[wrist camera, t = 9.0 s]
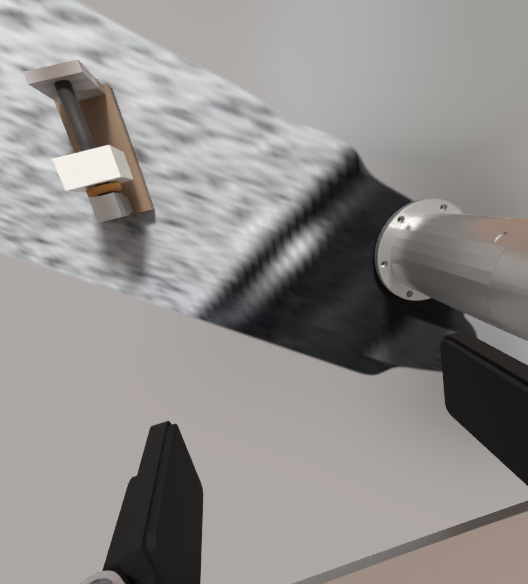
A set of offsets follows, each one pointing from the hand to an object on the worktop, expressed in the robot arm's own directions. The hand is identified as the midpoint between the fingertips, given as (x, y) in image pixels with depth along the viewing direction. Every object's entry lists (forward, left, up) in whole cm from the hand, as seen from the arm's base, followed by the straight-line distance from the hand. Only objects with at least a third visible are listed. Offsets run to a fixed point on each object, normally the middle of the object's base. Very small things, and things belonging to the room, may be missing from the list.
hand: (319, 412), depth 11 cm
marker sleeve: (+10, -12, -24) cm, 29 cm away
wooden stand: (+10, -14, -28) cm, 33 cm away
